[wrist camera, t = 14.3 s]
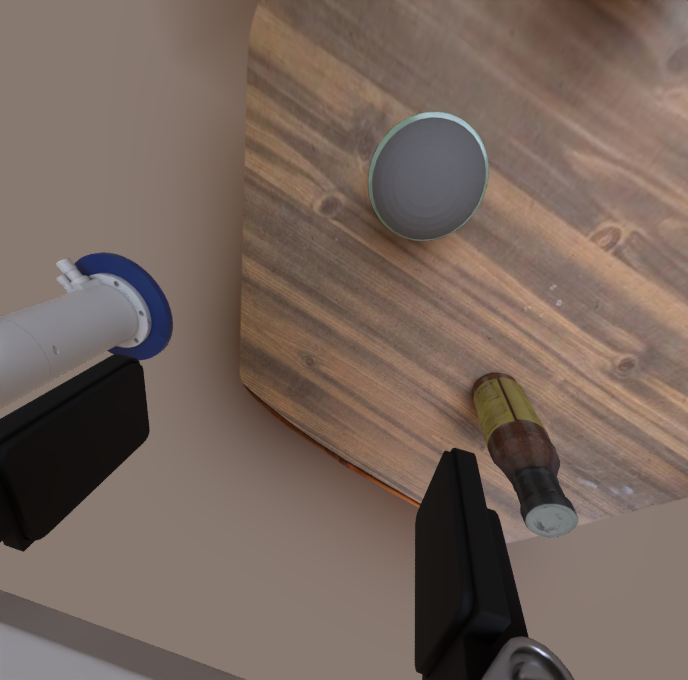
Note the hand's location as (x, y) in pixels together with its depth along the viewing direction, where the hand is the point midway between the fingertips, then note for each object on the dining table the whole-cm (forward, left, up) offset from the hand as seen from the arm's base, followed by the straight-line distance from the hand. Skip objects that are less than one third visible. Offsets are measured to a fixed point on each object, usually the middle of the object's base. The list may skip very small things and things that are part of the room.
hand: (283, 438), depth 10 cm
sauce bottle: (+24, +3, -34) cm, 42 cm away
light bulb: (-4, +7, -21) cm, 22 cm away
